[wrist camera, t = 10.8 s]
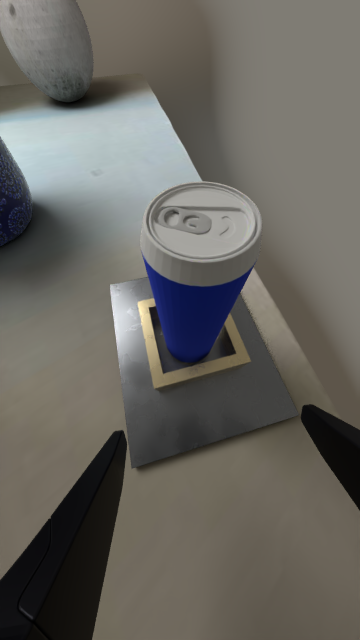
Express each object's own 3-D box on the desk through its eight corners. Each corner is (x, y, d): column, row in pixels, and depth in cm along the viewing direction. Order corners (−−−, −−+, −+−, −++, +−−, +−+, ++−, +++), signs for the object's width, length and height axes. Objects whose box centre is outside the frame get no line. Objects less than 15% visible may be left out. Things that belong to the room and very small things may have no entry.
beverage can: (214, 324, 21) (270, 183, 8) (208, 368, 19) (272, 279, 6) (171, 316, 22) (154, 172, 8) (161, 358, 20) (115, 256, 6)
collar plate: (294, 414, 18) (320, 416, 15) (133, 465, 16) (121, 481, 13) (222, 264, 26) (228, 243, 23) (111, 288, 25) (100, 269, 21)
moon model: (109, 108, 52) (70, -53, 34) (36, 118, 49) (-49, -48, 31) (100, 85, 60) (64, -54, 42) (36, 93, 57) (-31, -50, 39)
